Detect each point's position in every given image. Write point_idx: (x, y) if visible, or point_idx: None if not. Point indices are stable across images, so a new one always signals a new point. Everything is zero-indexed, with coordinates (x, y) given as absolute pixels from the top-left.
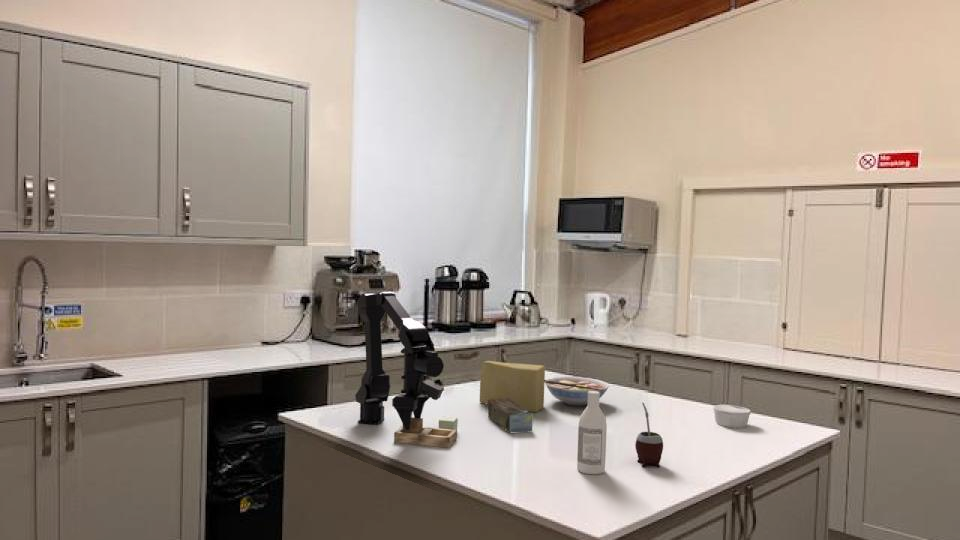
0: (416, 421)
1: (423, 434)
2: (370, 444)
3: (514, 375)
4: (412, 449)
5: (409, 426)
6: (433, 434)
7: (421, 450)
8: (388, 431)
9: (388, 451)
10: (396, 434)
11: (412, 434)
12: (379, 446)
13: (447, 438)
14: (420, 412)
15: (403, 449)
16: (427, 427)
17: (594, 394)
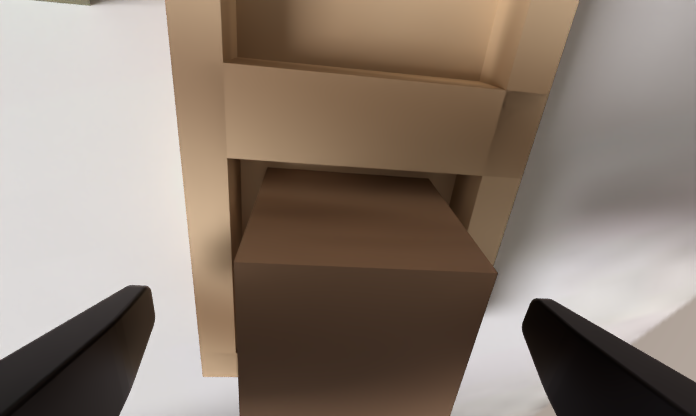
0: (451, 301)
1: (506, 123)
2: (493, 409)
3: None
4: (613, 157)
5: (580, 320)
6: (249, 37)
7: (651, 74)
8: (192, 406)
9: (641, 295)
10: None
11: (501, 235)
12: (532, 363)
13: None
14: (62, 378)
15: (607, 221)
16: (182, 144)
17: None
